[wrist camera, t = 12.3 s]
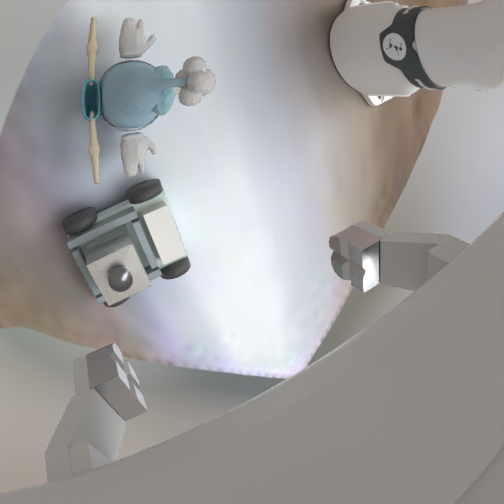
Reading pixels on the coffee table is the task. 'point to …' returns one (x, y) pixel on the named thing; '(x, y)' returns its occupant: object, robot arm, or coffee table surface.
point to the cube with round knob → (116, 265)
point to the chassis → (132, 233)
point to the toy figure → (136, 94)
